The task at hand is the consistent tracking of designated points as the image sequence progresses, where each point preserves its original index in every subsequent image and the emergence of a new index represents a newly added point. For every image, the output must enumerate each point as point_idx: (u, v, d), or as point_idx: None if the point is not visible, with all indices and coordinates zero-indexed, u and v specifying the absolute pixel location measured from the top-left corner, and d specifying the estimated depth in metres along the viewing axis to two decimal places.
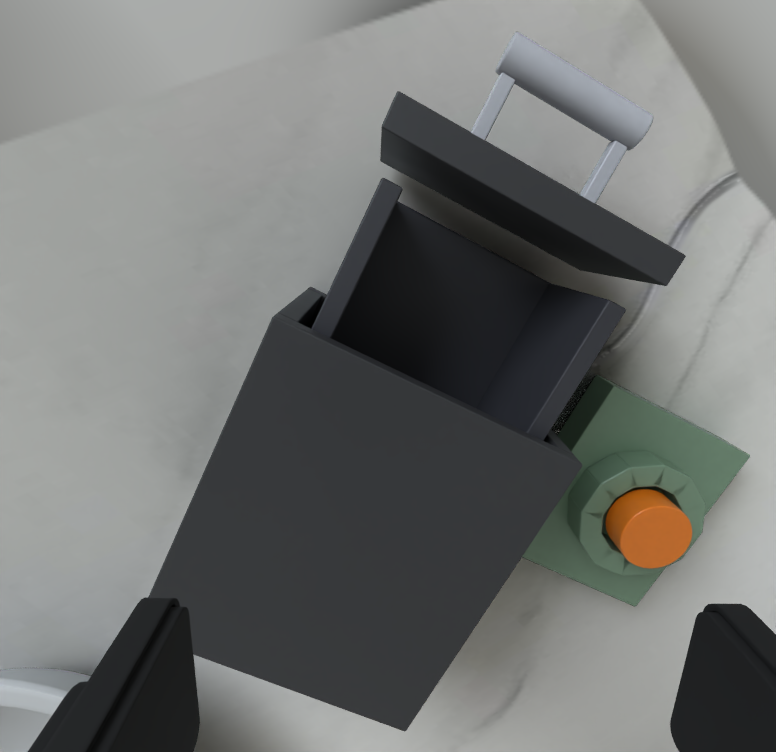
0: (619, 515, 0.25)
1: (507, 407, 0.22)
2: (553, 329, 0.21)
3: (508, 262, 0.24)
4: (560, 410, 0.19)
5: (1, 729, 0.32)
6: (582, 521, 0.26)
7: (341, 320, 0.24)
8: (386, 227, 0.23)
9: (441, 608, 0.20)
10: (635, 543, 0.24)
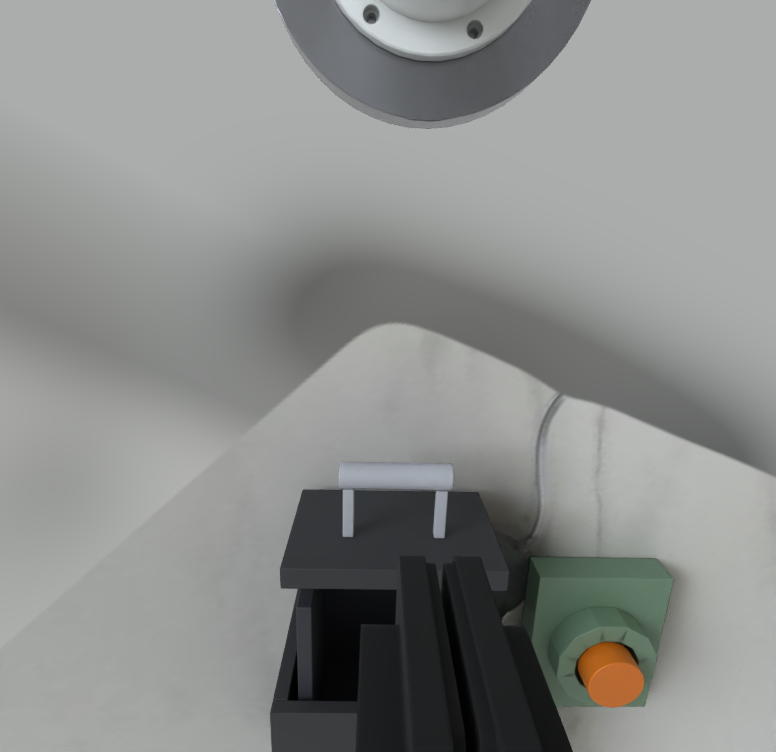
0: (583, 675, 0.32)
1: None
2: None
3: None
4: None
5: None
6: (561, 682, 0.33)
7: (326, 614, 0.33)
8: None
9: None
10: (602, 694, 0.31)
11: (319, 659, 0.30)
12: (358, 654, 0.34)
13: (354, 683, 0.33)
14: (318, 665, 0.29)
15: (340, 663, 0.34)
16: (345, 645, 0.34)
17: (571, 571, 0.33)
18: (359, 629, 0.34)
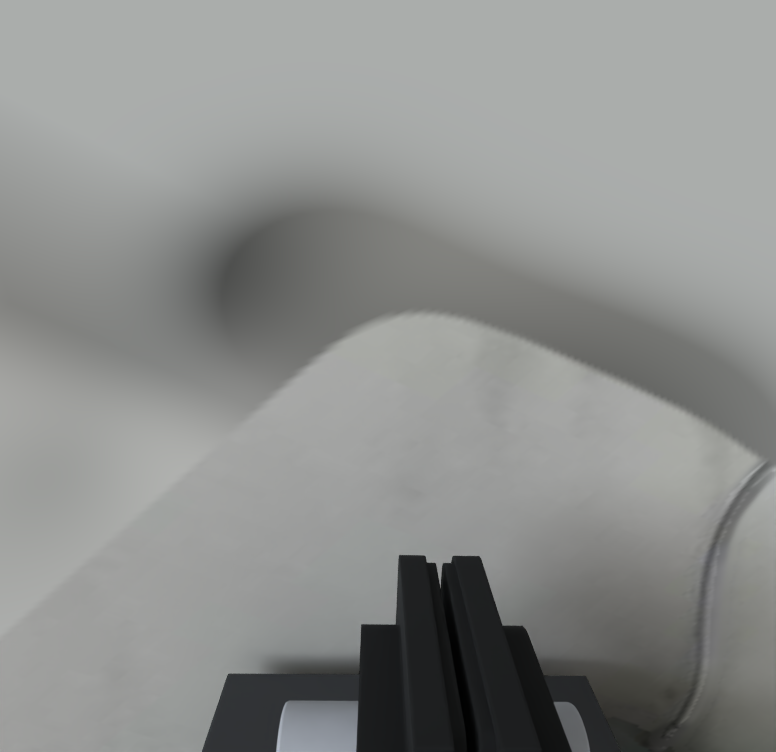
0: None
1: None
2: None
3: None
4: None
5: None
6: None
7: None
8: None
9: None
10: None
11: None
12: None
13: None
14: None
15: None
16: None
17: None
18: None
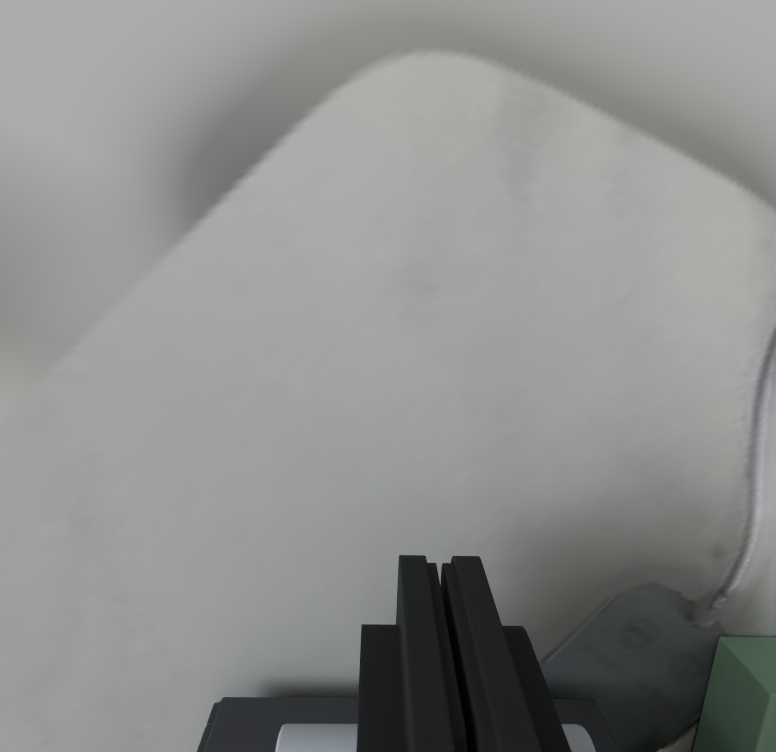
0: None
1: None
2: None
3: None
4: None
5: None
6: None
7: None
8: None
9: None
10: None
11: None
12: None
13: None
14: None
15: None
16: None
17: None
18: None
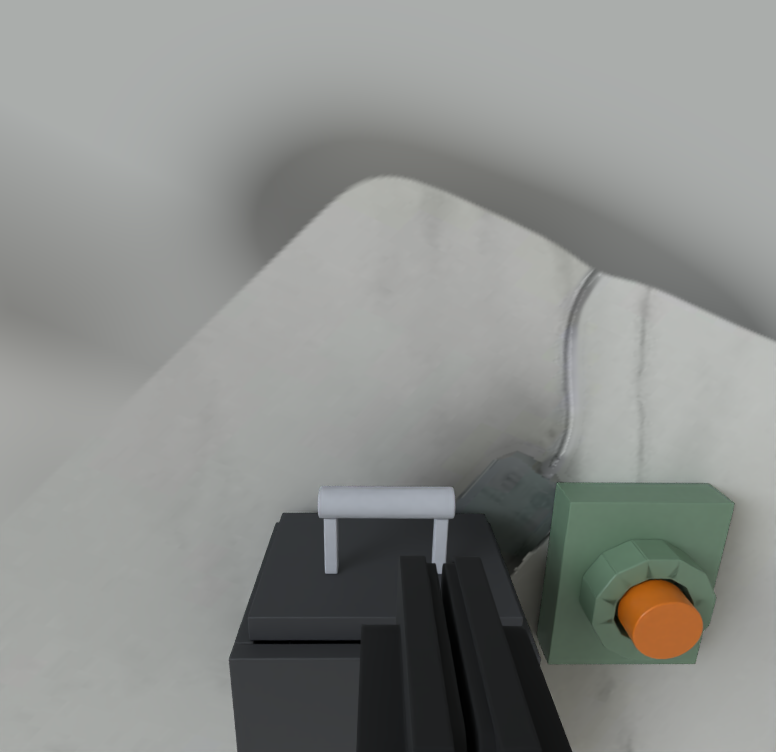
0: (626, 620, 0.26)
1: None
2: None
3: None
4: None
5: None
6: (597, 631, 0.27)
7: None
8: None
9: None
10: (650, 643, 0.25)
11: None
12: None
13: None
14: None
15: None
16: None
17: (608, 496, 0.27)
18: None
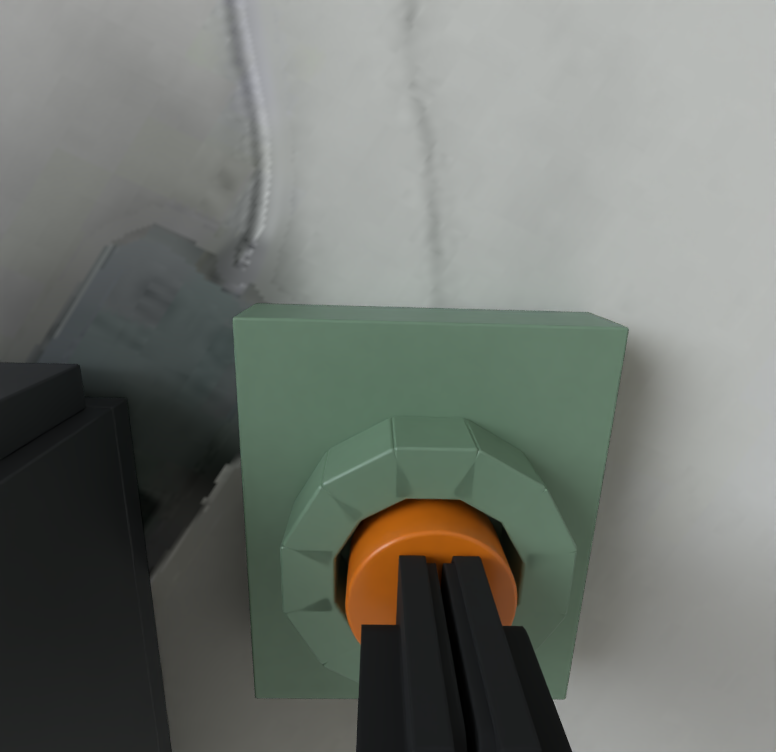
0: None
1: None
2: None
3: None
4: None
5: None
6: (300, 629, 0.11)
7: None
8: None
9: None
10: None
11: None
12: None
13: None
14: None
15: None
16: None
17: (339, 314, 0.12)
18: None
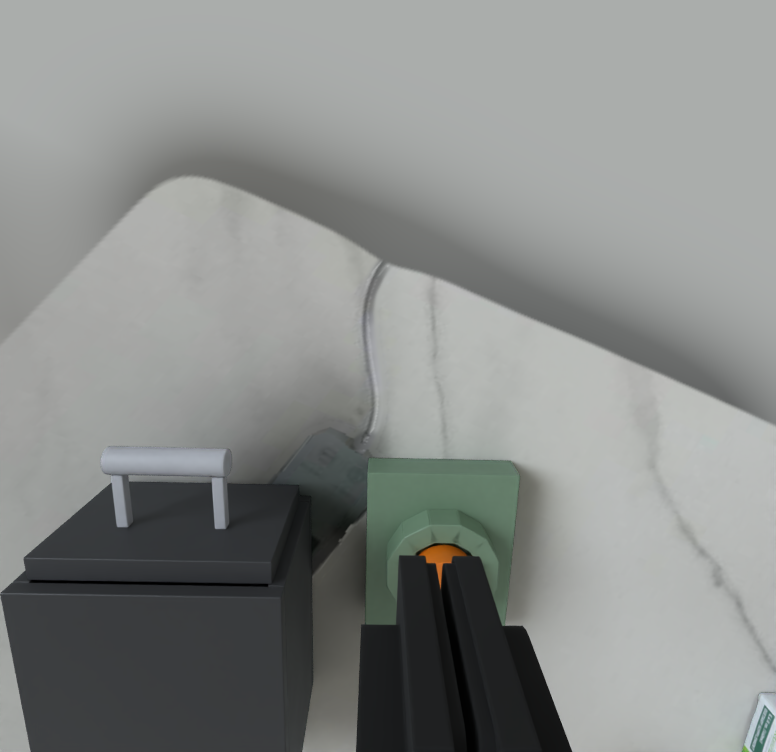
0: None
1: None
2: None
3: None
4: None
5: None
6: (392, 593, 0.29)
7: None
8: None
9: (249, 737, 0.24)
10: None
11: None
12: None
13: None
14: None
15: None
16: None
17: (407, 468, 0.29)
18: None
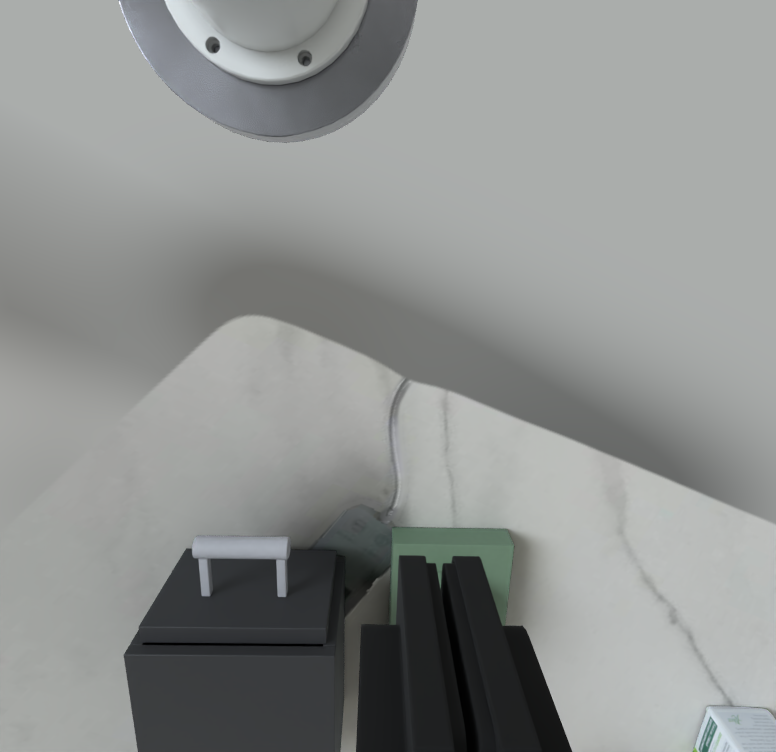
0: None
1: None
2: None
3: None
4: None
5: None
6: None
7: None
8: None
9: None
10: None
11: None
12: None
13: None
14: None
15: None
16: None
17: (424, 539, 0.37)
18: None
